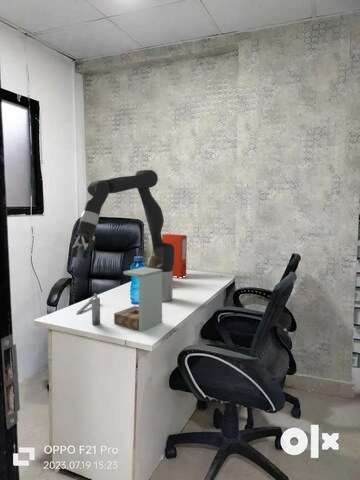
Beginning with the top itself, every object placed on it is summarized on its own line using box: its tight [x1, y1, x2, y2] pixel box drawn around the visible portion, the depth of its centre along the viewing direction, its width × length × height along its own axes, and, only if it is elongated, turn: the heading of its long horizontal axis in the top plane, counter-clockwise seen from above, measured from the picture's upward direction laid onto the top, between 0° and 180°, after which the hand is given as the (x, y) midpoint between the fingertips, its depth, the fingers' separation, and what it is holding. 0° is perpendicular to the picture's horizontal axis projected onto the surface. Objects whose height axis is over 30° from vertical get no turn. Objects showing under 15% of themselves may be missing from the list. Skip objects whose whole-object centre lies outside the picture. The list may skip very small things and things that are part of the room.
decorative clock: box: [146, 247, 163, 269], centre depth 234 cm, size 28×13×30 cm, turn 159°
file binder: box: [161, 233, 188, 277], centre depth 258 cm, size 8×17×32 cm, turn 57°
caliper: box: [75, 293, 98, 315], centre depth 179 cm, size 20×1×6 cm, turn 165°
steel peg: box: [91, 296, 101, 326], centre depth 156 cm, size 4×4×12 cm
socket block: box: [113, 305, 139, 331], centre depth 158 cm, size 14×14×5 cm
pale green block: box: [122, 266, 163, 333], centre depth 155 cm, size 11×14×25 cm
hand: (78, 257), depth 150 cm, fingers open, 8 cm apart
